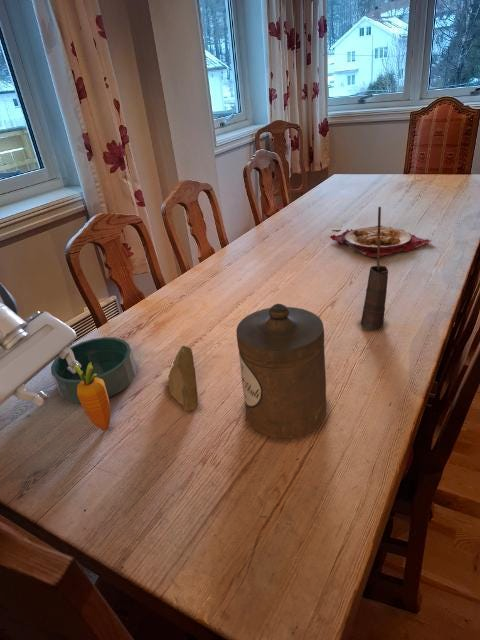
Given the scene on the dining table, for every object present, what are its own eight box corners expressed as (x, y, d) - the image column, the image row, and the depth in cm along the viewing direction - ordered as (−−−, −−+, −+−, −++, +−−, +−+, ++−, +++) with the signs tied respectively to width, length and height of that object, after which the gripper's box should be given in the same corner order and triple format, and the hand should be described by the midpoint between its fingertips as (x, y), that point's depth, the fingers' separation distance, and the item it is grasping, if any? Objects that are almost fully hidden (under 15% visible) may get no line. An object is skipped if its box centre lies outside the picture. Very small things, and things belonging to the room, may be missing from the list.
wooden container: (249, 385, 87) (238, 288, 77) (323, 384, 85) (322, 284, 74) (242, 439, 75) (227, 331, 64) (328, 439, 72) (328, 328, 62)
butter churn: (398, 338, 97) (409, 216, 83) (354, 337, 99) (358, 218, 85) (393, 317, 104) (403, 203, 91) (353, 317, 107) (356, 205, 93)
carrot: (87, 430, 81) (63, 365, 73) (112, 417, 83) (90, 353, 76) (98, 444, 77) (74, 377, 70) (123, 430, 80) (102, 364, 72)
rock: (209, 404, 80) (216, 366, 88) (174, 378, 77) (185, 342, 85) (172, 426, 85) (181, 389, 93) (138, 403, 82) (151, 367, 90)
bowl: (61, 415, 85) (52, 392, 82) (58, 372, 99) (50, 351, 96) (143, 388, 90) (137, 365, 87) (129, 351, 104) (123, 330, 101)
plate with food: (376, 262, 135) (377, 251, 133) (328, 239, 155) (328, 230, 154) (432, 245, 143) (434, 235, 142) (379, 226, 164) (380, 217, 162)
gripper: (35, 316, 86) (89, 361, 88) (-53, 378, 70) (15, 431, 71) (46, 298, 82) (102, 345, 84) (-44, 358, 66) (27, 415, 68)
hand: (62, 385), depth 77 cm, fingers open, 8 cm apart
